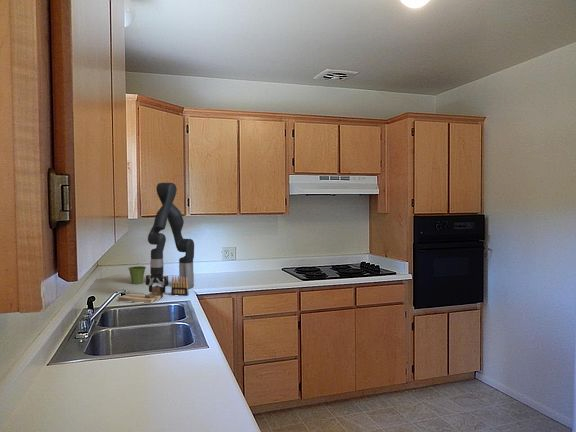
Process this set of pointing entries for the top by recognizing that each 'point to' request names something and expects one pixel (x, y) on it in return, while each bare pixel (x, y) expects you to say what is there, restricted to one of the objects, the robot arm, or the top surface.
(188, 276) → the robot arm
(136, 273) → the plant pot
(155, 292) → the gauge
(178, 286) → the ammunition clip
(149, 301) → the board
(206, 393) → the top surface
